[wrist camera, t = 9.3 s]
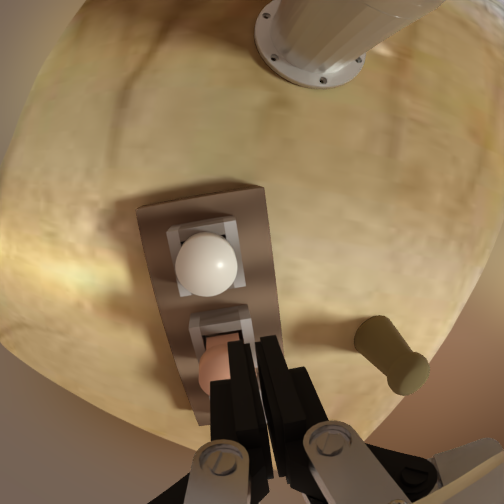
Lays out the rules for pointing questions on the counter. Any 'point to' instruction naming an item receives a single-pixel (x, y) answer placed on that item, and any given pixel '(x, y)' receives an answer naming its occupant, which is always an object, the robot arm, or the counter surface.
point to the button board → (226, 303)
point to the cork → (392, 355)
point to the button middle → (215, 360)
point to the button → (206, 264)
